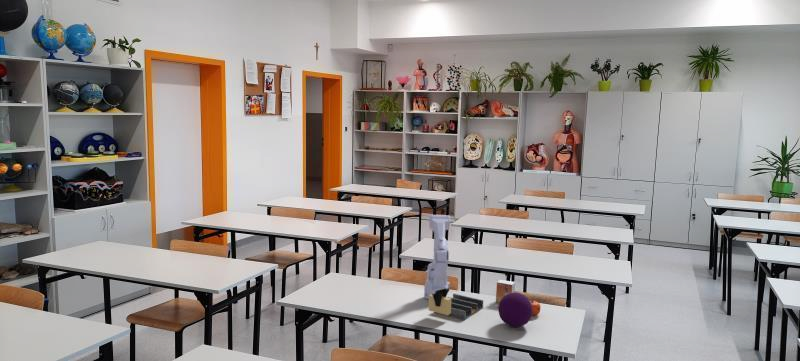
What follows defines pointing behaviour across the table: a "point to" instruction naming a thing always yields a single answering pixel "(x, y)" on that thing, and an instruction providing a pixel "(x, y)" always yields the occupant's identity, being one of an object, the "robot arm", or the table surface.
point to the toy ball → (515, 309)
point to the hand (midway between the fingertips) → (439, 304)
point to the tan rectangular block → (444, 307)
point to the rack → (464, 306)
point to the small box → (504, 289)
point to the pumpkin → (535, 307)
